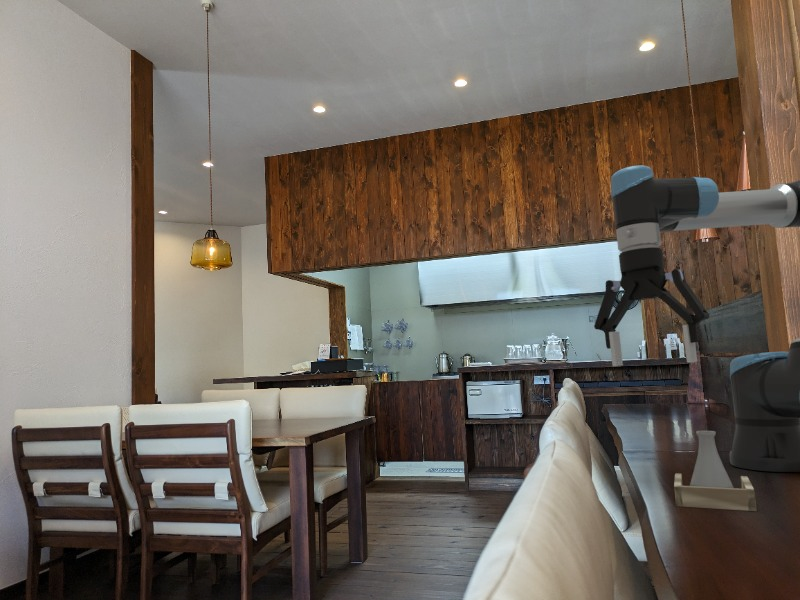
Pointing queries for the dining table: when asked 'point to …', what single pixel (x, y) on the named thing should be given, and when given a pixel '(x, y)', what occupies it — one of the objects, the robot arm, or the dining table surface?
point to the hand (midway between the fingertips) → (653, 364)
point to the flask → (709, 464)
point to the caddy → (715, 496)
